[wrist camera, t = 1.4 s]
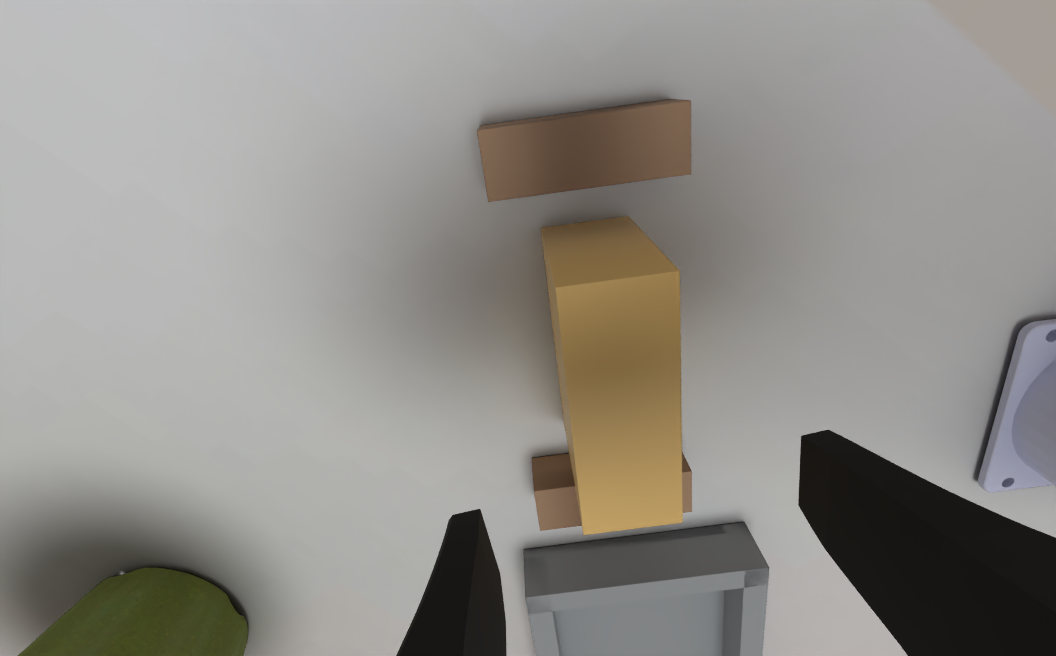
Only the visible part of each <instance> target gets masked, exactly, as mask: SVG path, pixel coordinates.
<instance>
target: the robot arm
mask: <svg viewBox="0 0 1056 656" xmlns="http://www.w3.org/2000/svg"><path fill="white" fill-rule="evenodd" d="M1048 333H1049V334H1048ZM1047 334H1048V335H1047ZM978 484H979V486H980V487H981V488H983V489H984V490H985V491H987V492H1000V491H1008V490H1016V489H1024V488H1032V487H1040V486H1048V485H1055V486H1056V319H1051V320H1043V321H1035V322H1032V323H1029V324H1027V325H1026V326H1024V327H1023V328H1022V329H1021V330H1020V332H1019V334H1018V337H1017V341H1016V345H1015V348H1014V352H1013V355H1012V359H1011V363H1010V366H1009V370H1008V374H1007V377H1006V381H1005V384H1004V388H1003V392H1002V395H1001V399H1000V402H999V406H998V410H997V413H996V417H995V420H994V424H993V428H992V431H991V435H990V438H989V442H988V446H987V449H986V453H985V456H984V460H983V464H982V467H981V471H980V474H979V478H978ZM799 507H800V509H801V510H802V512H803V514H804V515H805V517H806V519H807V521H808V522H809V524H810V526H811V527H812V529H813V531H814V532H815V534H816V535H817V537H818V539H819V540H820V542H821V543H822V545H823V547H824V548H825V549H826V551H827V552H828V553H829V555H830V556H831V557H832V559H833V560H834V561H835V563H836V564H837V565H838V566H839V568H840V569H841V570H842V572H843V573H844V574H845V575H846V577H847V578H848V579H849V581H850V582H851V583H852V584H853V586H854V587H855V588H856V590H857V591H858V592H859V593H860V595H861V596H862V597H863V598H864V600H865V601H866V602H867V604H868V605H869V606H870V607H871V609H872V610H873V611H874V612H875V614H876V615H877V616H878V617H879V619H880V620H881V621H882V623H883V624H884V625H885V626H886V628H887V629H888V630H889V631H890V633H891V634H892V635H893V637H894V638H895V639H896V640H897V642H898V643H899V644H900V645H901V647H902V648H903V650H904V651H905V652H906V654H907V655H908V656H1056V538H1055V537H1052V536H1050V535H1047V534H1045V533H1042V532H1040V531H1037V530H1035V529H1032V528H1030V527H1027V526H1025V525H1022V524H1020V523H1018V522H1015V521H1013V520H1010V519H1008V518H1006V517H1004V516H1001V515H999V514H997V513H995V512H992V511H990V510H988V509H986V508H984V507H981V506H979V505H977V504H975V503H973V502H970V501H968V500H966V499H964V498H962V497H960V496H958V495H956V494H953V493H951V492H949V491H947V490H945V489H943V488H941V487H939V486H937V485H935V484H933V483H931V482H929V481H927V480H925V479H923V478H921V477H919V476H917V475H915V474H913V473H911V472H909V471H907V470H905V469H903V468H901V467H899V466H898V465H896V464H894V463H892V462H890V461H888V460H886V459H884V458H882V457H880V456H878V455H877V454H875V453H873V452H871V451H869V450H867V449H865V448H863V447H861V446H859V445H858V444H856V443H854V442H852V441H850V440H848V439H846V438H844V437H842V436H840V435H838V434H836V433H834V432H832V431H830V430H825V431H820V432H816V433H812V434H807V435H803V436H801V455H800V480H799ZM396 656H506V620H505V611H504V602H503V594H502V586H501V577H500V572H499V569H498V565H497V562H496V559H495V556H494V552H493V549H492V546H491V543H490V539H489V536H488V533H487V530H486V526H485V523H484V520H483V517H482V513H481V510H480V509H477V510H473V511H468V512H464V513H460V514H455V515H452V517H451V518H450V519H449V522H448V525H447V529H446V533H445V536H444V539H443V542H442V545H441V549H440V551H439V554H438V557H437V560H436V563H435V566H434V569H433V571H432V574H431V577H430V579H429V582H428V584H427V587H426V589H425V592H424V594H423V597H422V599H421V602H420V604H419V607H418V609H417V612H416V614H415V616H414V618H413V620H412V623H411V625H410V627H409V629H408V631H407V634H406V636H405V638H404V640H403V642H402V645H401V647H400V649H399V651H398V653H397V655H396Z"/></svg>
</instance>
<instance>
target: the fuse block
mask: <svg viewBox="0 0 1056 656" xmlns="http://www.w3.org/2000/svg"><path fill="white" fill-rule="evenodd" d="M541 235H542V244H543V252H544V260H545V269H546V277H547V285H548V294H549V302H550V310H551V319H552V327H553V335H554V344H555V352H556V360H557V369H558V377H559V385H560V394H561V402H562V410H563V419H564V426H565V431H566V437H567V443H568V449H569V454H570V460H571V466H572V471H573V477H574V483H575V489H576V494H577V500H578V506H579V512H580V517H581V523H582V529H583V535H588V534H596V533H604V532H612V531H620V530H627V529H635V528H643V527H651V526H659V525H667V524H675V523H683V512H682V425H681V337H680V271H679V270H678V269H677V268H676V266H675V265H674V264H673V263H672V262H671V261H670V260H669V259H668V258H667V257H666V256H665V255H664V254H663V253H662V252H661V251H660V249H659V248H658V247H657V246H656V245H655V244H654V243H653V242H652V241H651V240H650V239H649V238H648V237H647V236H646V235H645V233H644V232H643V231H642V230H641V229H640V228H639V227H638V226H637V225H636V224H635V223H634V222H633V221H632V220H631V219H630V218H629V216H625V217H618V218H610V219H603V220H596V221H588V222H581V223H574V224H566V225H559V226H552V227H544V228H541Z"/></svg>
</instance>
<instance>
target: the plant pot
mask: <svg viewBox="0 0 1056 656" xmlns="http://www.w3.org/2000/svg"><path fill="white" fill-rule="evenodd" d="M247 639H248V627H247V623H246V620H245V618H244V616H241V615H239V614H238V613H237V612H236V610H235V609H234V607H233V606H232V604H231V602H230V600H229V598H228V596H227V595H226V593H224V592H223V591H222V590H220V589H219V588H218V587H216V586H214V585H213V584H211V583H209V582H207V581H205V580H203V579H201V578H198V577H196V576H193V575H190V574H188V573H184V572H180V571H176V570H171V569H164V568H140V569H137V570H134V571H132V572H129V573H126V574H123V575H119V576H115V577H109V578H106V579H105V580H103V581H102V582H101V583H99V584H98V585H97V586H96V587H95V588H94V589H92V590H91V591H90V592H89V593H88V594H87V595H86V596H84V597H83V598H82V599H81V600H80V601H79V602H78V603H76V604H75V605H74V606H73V607H72V608H71V609H70V610H68V611H67V612H66V613H65V614H64V615H63V616H62V617H61V618H59V619H58V620H57V621H56V622H55V623H54V624H53V625H52V626H51V627H49V628H48V629H47V630H46V631H45V632H44V633H43V634H42V635H40V636H39V637H38V638H37V639H36V640H35V641H34V642H33V643H32V644H30V645H29V646H28V647H27V648H26V649H25V650H24V651H23V652H22V653H20V654H19V655H18V656H243V654H244V651H245V647H246V644H247Z"/></svg>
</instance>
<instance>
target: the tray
mask: <svg viewBox="0 0 1056 656" xmlns="http://www.w3.org/2000/svg"><path fill="white" fill-rule="evenodd" d="M524 574H525V598H526V604H527V609H528V614H529V620H530V625H531V630H532V636H533V641H534V647H535V652H536V656H762V652H763V640H764V627H765V615H766V602H767V590H768V578H769V566H768V564H767V562H766V561H765V559H764V557H763V555H762V553H761V551H760V550H759V548H758V546H757V544H756V542H755V540H754V539H753V537H752V535H751V533H750V531H749V530H748V528H747V526H746V524H745V522H741V523H733V524H725V525H717V526H709V527H701V528H693V529H685V530H677V531H669V532H661V533H653V534H645V535H637V536H629V537H621V538H613V539H605V540H597V541H589V542H581V543H573V544H565V545H557V546H549V547H541V548H533V549H525V550H524Z"/></svg>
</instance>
